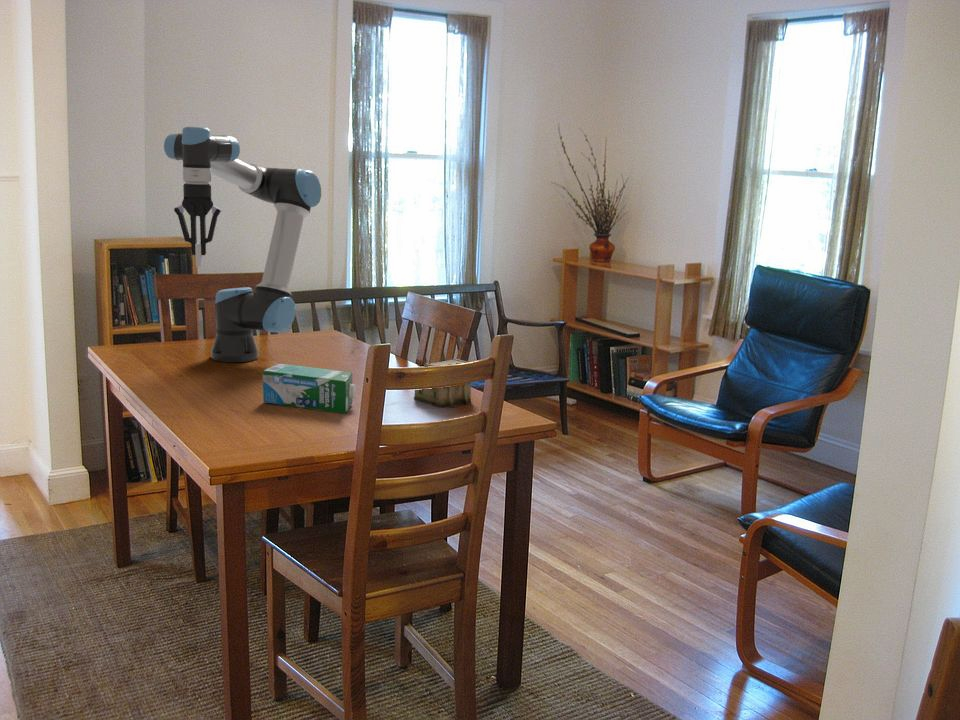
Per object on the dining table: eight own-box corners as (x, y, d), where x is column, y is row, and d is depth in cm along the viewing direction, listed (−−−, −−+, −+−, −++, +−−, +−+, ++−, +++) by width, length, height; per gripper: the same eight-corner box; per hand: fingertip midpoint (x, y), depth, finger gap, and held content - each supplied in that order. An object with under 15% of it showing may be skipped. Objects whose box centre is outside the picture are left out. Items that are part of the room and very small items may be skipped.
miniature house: (480, 401, 272) (482, 362, 269) (444, 409, 262) (446, 369, 259) (444, 391, 282) (445, 353, 280) (408, 398, 272) (409, 359, 270)
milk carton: (279, 393, 269) (360, 404, 262) (263, 402, 261) (346, 414, 253) (279, 363, 267) (360, 373, 259) (262, 370, 258) (346, 381, 251)
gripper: (170, 182, 263) (173, 267, 268) (219, 184, 265) (221, 268, 270) (175, 181, 270) (177, 264, 275) (222, 183, 272) (224, 265, 277)
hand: (199, 266), depth 273 cm, fingers closed
